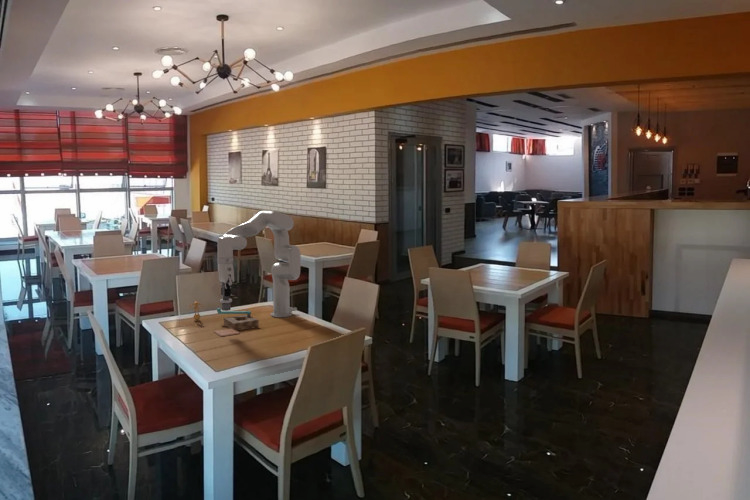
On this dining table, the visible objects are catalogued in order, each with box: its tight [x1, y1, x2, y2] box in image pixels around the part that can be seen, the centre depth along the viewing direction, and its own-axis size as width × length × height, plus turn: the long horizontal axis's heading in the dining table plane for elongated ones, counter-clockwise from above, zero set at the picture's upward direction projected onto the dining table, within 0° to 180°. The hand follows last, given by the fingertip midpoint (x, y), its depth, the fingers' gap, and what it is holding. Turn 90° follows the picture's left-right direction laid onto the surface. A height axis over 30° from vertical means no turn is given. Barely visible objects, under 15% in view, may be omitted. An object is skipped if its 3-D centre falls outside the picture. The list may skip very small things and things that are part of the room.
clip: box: [216, 307, 252, 315], centre depth 319 cm, size 19×2×3 cm, turn 93°
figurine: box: [188, 300, 205, 322], centre depth 323 cm, size 8×6×12 cm
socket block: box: [223, 313, 259, 331], centre depth 314 cm, size 14×14×5 cm
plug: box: [219, 282, 233, 311], centre depth 297 cm, size 6×6×14 cm
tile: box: [213, 328, 241, 337], centre depth 300 cm, size 10×10×1 cm
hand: (226, 295), depth 297 cm, fingers closed on plug, 3 cm apart
